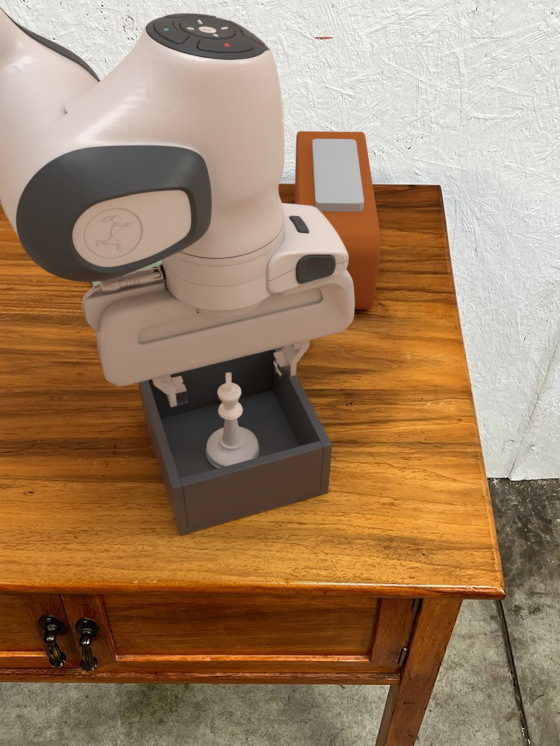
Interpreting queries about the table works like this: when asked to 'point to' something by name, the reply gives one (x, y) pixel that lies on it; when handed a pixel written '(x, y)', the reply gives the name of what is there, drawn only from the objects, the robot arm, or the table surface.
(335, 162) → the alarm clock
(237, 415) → the chess piece
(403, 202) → the table surface
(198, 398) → the tub
